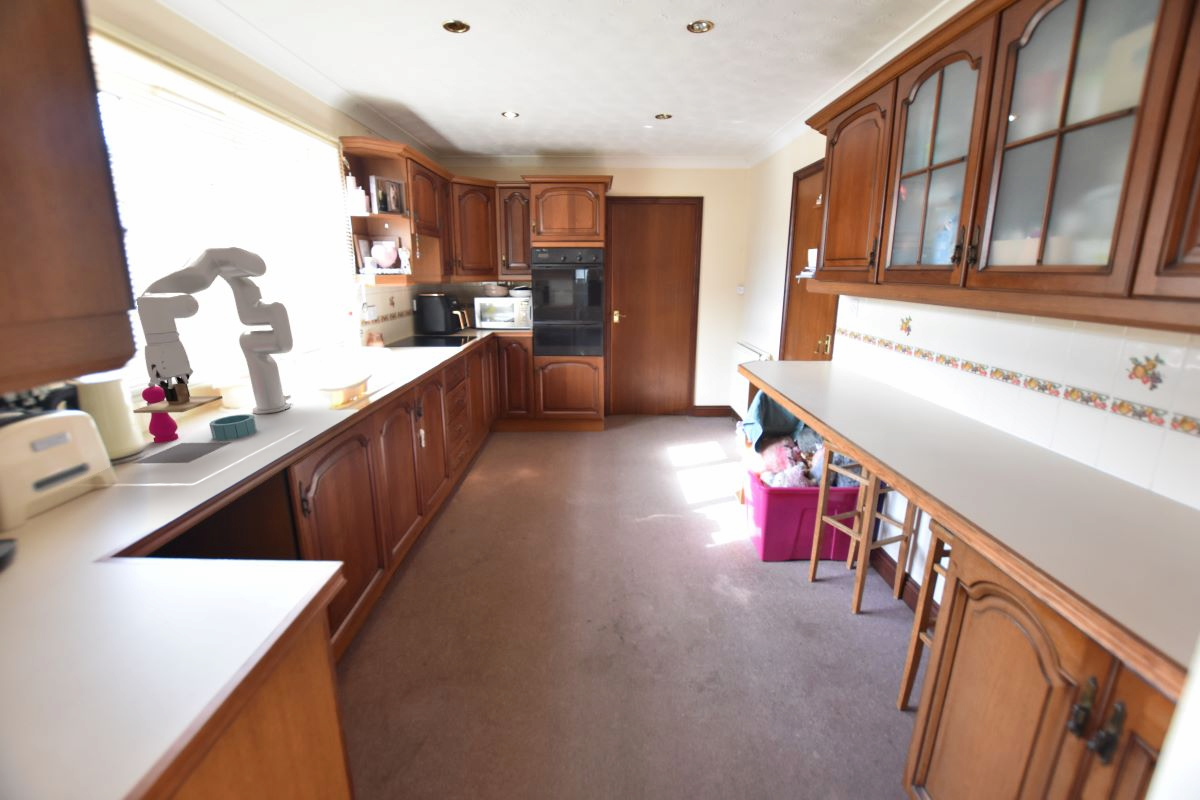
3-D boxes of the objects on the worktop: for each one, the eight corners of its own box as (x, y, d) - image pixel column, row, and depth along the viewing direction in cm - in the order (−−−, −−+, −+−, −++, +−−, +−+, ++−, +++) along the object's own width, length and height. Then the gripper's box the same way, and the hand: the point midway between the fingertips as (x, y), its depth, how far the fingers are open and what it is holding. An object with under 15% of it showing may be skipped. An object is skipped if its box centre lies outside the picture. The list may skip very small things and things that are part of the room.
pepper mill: (156, 446, 166) (139, 385, 161) (149, 442, 170) (133, 383, 165) (183, 439, 171) (168, 381, 166) (176, 436, 176) (161, 378, 170)
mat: (182, 444, 167) (181, 442, 167) (232, 443, 166) (231, 442, 166) (133, 464, 150) (132, 463, 150) (188, 464, 149) (187, 462, 149)
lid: (177, 399, 164) (172, 379, 162) (222, 398, 163) (217, 378, 161) (133, 413, 150) (127, 391, 148) (182, 412, 149) (176, 391, 147)
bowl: (232, 429, 180) (228, 414, 179) (264, 429, 180) (261, 414, 178) (204, 441, 169) (200, 425, 167) (239, 441, 168) (235, 425, 167)
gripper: (174, 334, 159) (189, 392, 164) (123, 343, 143) (141, 407, 148) (197, 334, 159) (212, 392, 164) (148, 343, 143) (166, 407, 148)
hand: (178, 398), depth 156 cm, fingers closed on lid, 3 cm apart
